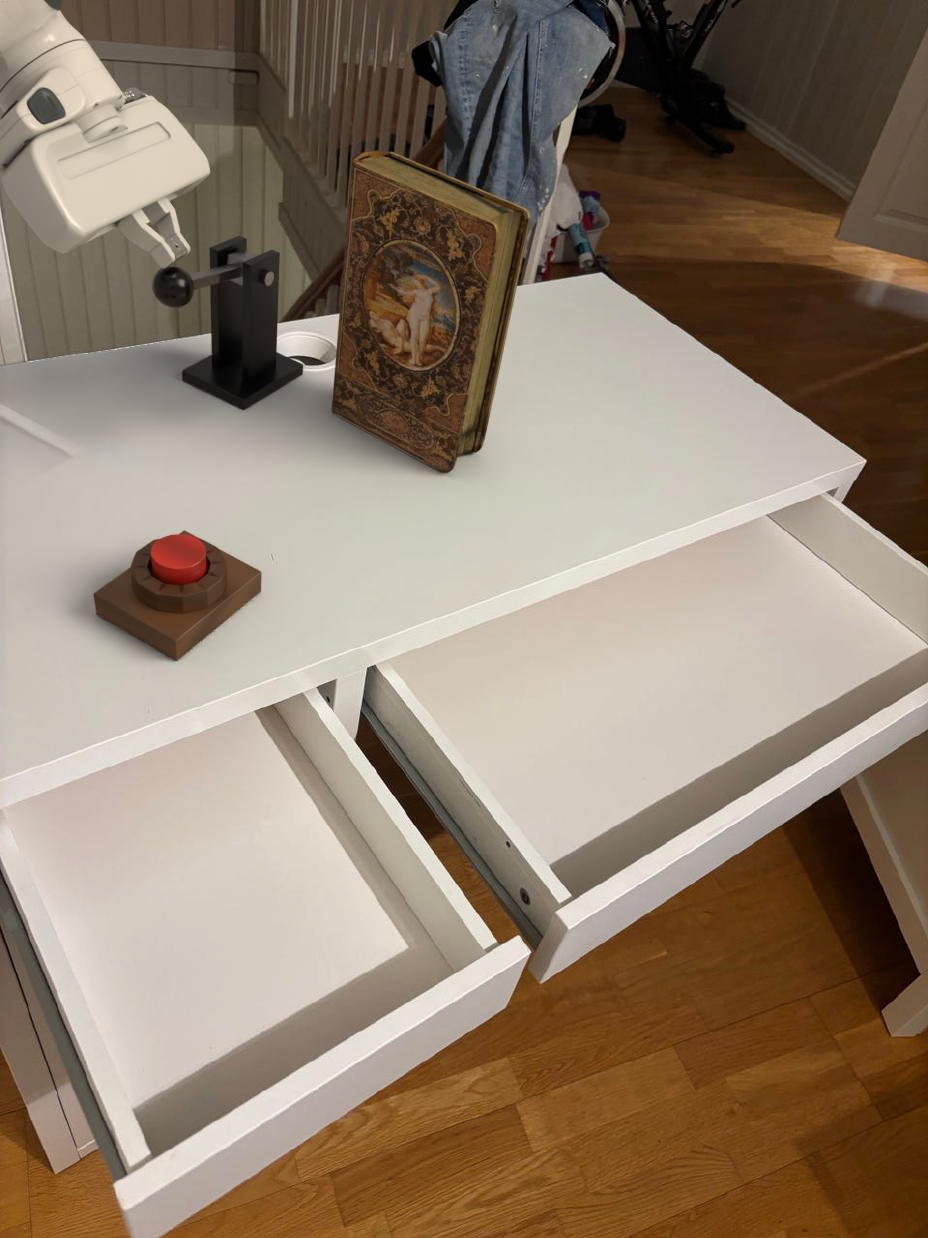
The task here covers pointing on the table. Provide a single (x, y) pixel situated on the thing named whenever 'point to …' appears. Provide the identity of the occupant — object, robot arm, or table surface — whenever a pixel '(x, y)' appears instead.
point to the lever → (195, 279)
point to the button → (178, 559)
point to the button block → (177, 600)
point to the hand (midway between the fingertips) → (177, 260)
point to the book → (424, 306)
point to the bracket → (244, 332)
